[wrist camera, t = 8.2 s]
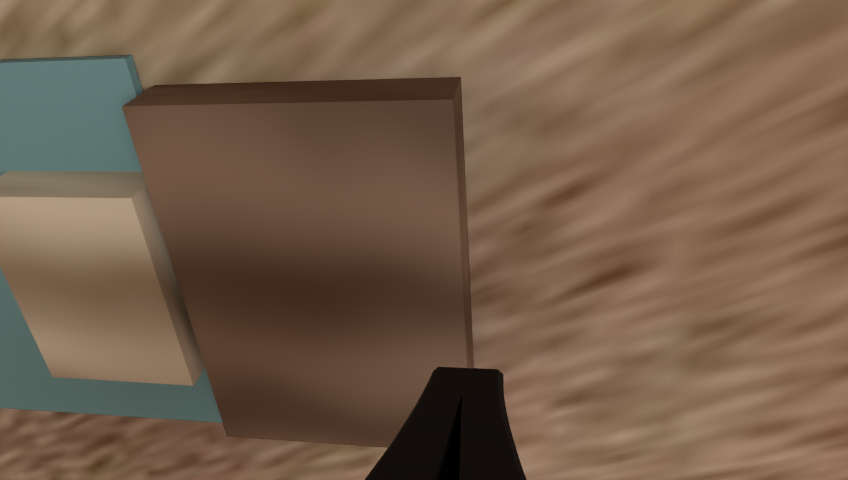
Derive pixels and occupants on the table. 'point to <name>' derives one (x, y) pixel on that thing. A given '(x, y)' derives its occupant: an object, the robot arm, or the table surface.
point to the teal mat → (74, 151)
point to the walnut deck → (314, 245)
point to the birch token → (95, 277)
